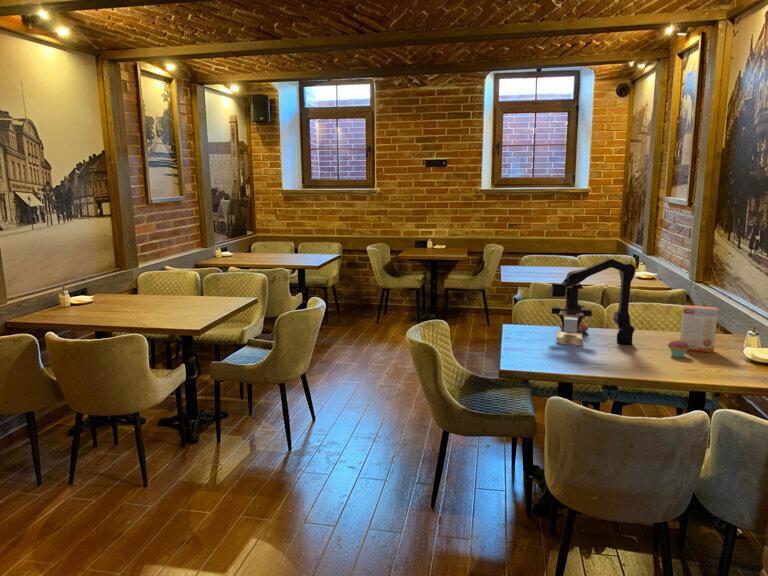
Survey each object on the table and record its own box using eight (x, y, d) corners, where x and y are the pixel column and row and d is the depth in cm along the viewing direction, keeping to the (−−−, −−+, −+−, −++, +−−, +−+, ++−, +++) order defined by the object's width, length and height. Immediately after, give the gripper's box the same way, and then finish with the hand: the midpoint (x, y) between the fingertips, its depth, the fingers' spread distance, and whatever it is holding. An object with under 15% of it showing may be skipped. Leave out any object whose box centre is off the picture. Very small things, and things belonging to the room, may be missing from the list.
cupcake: (686, 354, 257) (689, 328, 255) (689, 359, 249) (692, 333, 247) (665, 352, 260) (668, 327, 257) (668, 357, 252) (671, 332, 249)
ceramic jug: (593, 335, 287) (595, 308, 285) (566, 336, 286) (568, 308, 284) (579, 327, 305) (581, 302, 302) (553, 327, 304) (555, 302, 302)
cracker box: (712, 350, 263) (717, 306, 259) (713, 353, 258) (718, 309, 254) (678, 346, 269) (683, 304, 265) (679, 349, 264) (684, 306, 260)
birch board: (581, 338, 281) (582, 333, 281) (582, 345, 270) (582, 339, 270) (556, 336, 285) (557, 331, 284) (556, 343, 274) (556, 337, 273)
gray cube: (576, 329, 278) (577, 317, 277) (576, 332, 273) (577, 320, 272) (563, 328, 280) (564, 316, 279) (563, 331, 275) (564, 319, 274)
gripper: (552, 299, 269) (550, 330, 272) (593, 301, 263) (591, 333, 266) (552, 295, 279) (550, 325, 282) (592, 297, 273) (590, 328, 276)
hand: (570, 328), depth 276 cm, fingers closed on gray cube, 6 cm apart
